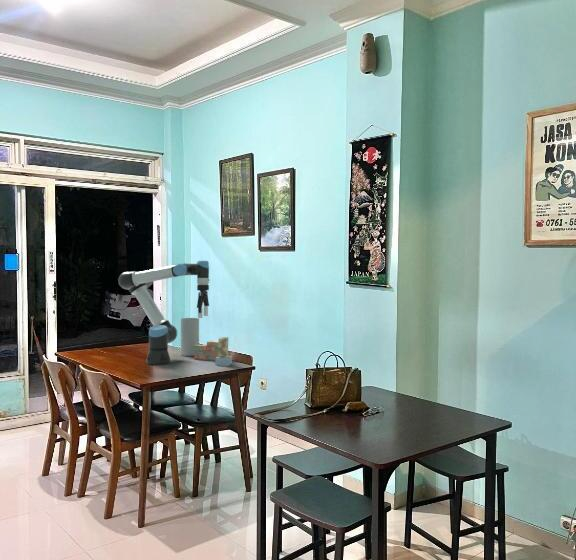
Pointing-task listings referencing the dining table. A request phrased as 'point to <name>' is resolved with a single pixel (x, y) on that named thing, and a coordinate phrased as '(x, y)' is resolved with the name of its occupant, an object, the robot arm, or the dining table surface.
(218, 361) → the base block
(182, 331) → the cylinder vase
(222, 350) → the pillar
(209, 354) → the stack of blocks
